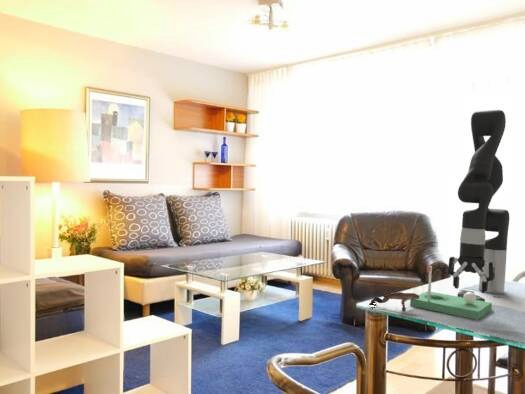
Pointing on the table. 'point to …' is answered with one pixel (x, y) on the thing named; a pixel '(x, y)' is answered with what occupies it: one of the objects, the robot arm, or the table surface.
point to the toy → (396, 295)
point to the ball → (469, 298)
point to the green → (452, 305)
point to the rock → (475, 295)
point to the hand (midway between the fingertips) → (469, 290)
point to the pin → (429, 269)
